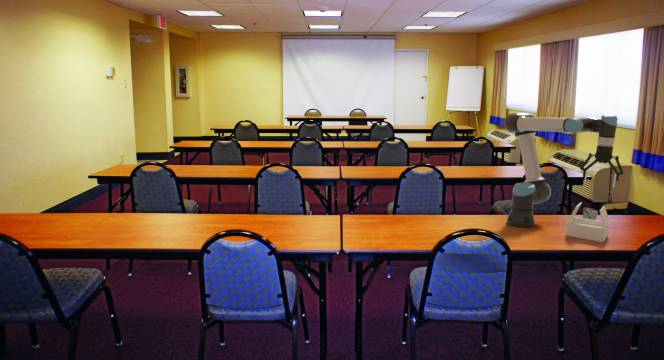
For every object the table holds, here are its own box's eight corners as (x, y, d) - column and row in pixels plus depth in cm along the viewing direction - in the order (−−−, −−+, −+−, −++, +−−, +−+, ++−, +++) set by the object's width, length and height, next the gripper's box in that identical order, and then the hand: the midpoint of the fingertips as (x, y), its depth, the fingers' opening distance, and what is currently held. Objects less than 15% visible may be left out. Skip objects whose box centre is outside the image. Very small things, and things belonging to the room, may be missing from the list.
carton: (565, 235, 273) (567, 222, 272) (571, 229, 285) (573, 216, 284) (602, 242, 263) (604, 228, 261) (607, 236, 275) (609, 222, 273)
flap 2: (599, 210, 263) (600, 210, 263) (603, 205, 273) (604, 205, 272) (603, 227, 263) (604, 226, 262) (608, 221, 273) (609, 221, 272)
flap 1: (581, 202, 279) (581, 202, 279) (576, 207, 269) (575, 206, 269) (574, 216, 282) (573, 215, 283) (568, 221, 273) (568, 220, 273)
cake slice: (599, 230, 285) (601, 213, 283) (587, 229, 286) (589, 212, 284) (592, 224, 296) (594, 208, 294) (581, 223, 298) (583, 207, 296)
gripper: (578, 143, 267) (573, 183, 272) (633, 148, 256) (626, 189, 261) (578, 142, 274) (573, 180, 278) (632, 146, 263) (625, 186, 268)
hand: (599, 185), depth 270 cm, fingers open, 13 cm apart
